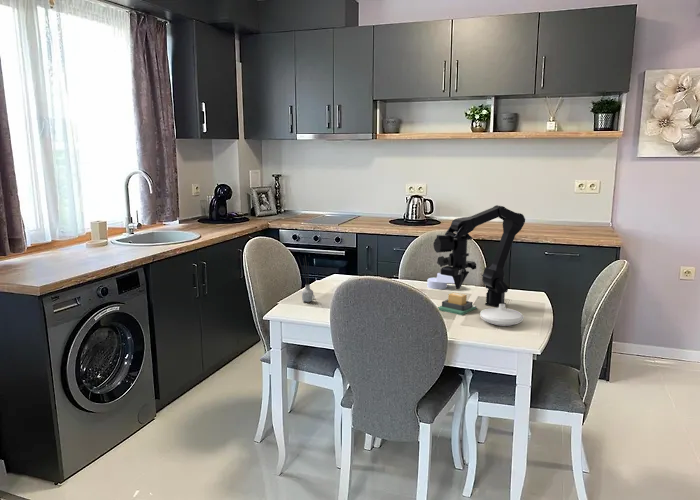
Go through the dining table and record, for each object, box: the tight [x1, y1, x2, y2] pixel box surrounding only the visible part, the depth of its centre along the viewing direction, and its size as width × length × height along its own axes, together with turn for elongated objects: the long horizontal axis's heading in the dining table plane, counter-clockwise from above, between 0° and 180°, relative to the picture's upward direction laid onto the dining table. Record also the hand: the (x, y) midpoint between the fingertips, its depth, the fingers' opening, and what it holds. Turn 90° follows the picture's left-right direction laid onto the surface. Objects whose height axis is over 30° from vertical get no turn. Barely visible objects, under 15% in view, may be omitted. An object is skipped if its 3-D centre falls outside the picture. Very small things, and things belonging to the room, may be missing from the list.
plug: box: [447, 292, 467, 305], centre depth 223 cm, size 6×4×5 cm, turn 50°
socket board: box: [438, 298, 477, 316], centre depth 223 cm, size 11×12×3 cm
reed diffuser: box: [297, 254, 315, 303], centre depth 232 cm, size 10×7×20 cm
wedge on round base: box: [426, 272, 455, 290], centre depth 257 cm, size 9×7×13 cm
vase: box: [479, 304, 525, 327], centre depth 206 cm, size 16×16×7 cm
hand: (457, 289), depth 222 cm, fingers closed
